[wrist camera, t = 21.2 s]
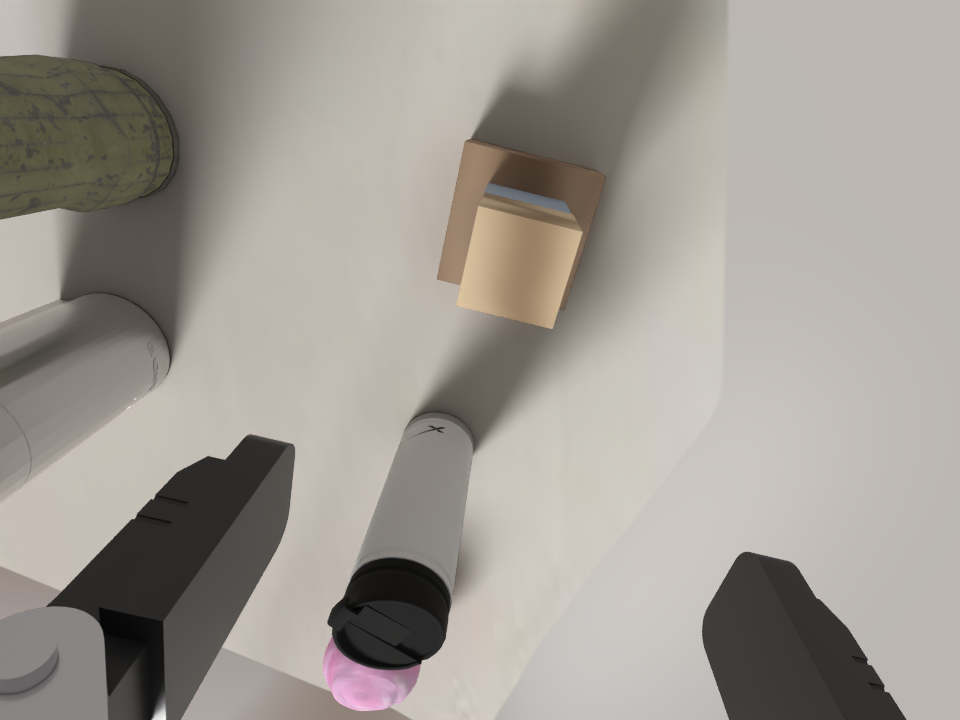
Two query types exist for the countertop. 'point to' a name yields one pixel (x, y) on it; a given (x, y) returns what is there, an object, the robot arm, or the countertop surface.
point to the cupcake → (365, 682)
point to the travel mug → (409, 551)
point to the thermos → (79, 136)
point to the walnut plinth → (520, 174)
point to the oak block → (519, 260)
